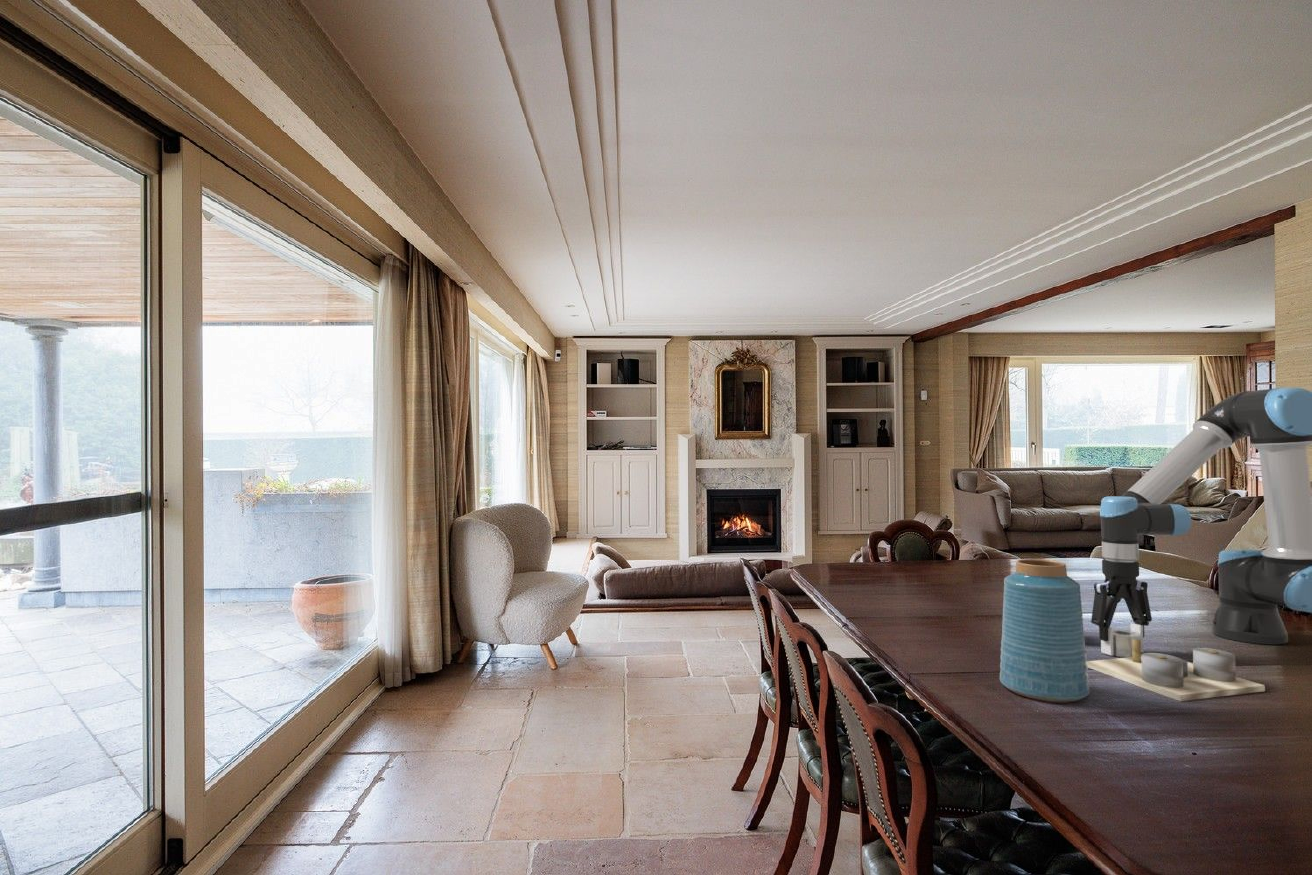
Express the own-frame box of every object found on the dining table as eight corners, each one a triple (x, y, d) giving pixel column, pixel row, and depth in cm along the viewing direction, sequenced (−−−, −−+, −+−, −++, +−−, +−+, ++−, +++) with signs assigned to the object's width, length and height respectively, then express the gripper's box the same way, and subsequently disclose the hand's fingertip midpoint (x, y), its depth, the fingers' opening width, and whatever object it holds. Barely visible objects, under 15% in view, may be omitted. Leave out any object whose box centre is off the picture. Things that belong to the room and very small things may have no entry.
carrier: (1162, 658, 160) (1162, 631, 160) (1264, 691, 139) (1264, 659, 139) (1086, 666, 155) (1085, 638, 155) (1179, 701, 134) (1178, 668, 134)
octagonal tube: (1121, 648, 169) (1121, 628, 169) (1147, 656, 162) (1147, 635, 162) (1098, 650, 168) (1098, 630, 168) (1124, 658, 161) (1123, 637, 161)
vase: (1077, 681, 146) (1075, 557, 146) (1100, 708, 131) (1097, 571, 131) (994, 673, 151) (992, 554, 152) (1006, 699, 136) (1003, 567, 136)
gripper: (1140, 555, 171) (1143, 644, 171) (1071, 559, 167) (1073, 651, 166) (1169, 559, 164) (1171, 653, 164) (1097, 564, 159) (1100, 660, 159)
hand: (1122, 652), depth 165 cm, fingers open, 8 cm apart
